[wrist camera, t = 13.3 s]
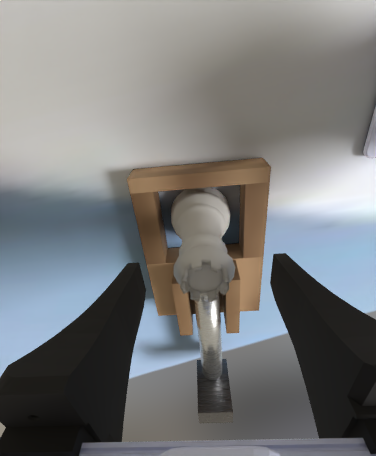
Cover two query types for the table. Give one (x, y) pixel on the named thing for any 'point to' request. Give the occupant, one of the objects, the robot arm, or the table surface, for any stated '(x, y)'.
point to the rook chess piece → (202, 242)
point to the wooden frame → (239, 252)
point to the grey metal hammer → (212, 365)
